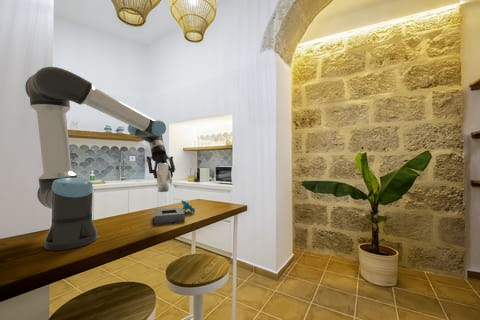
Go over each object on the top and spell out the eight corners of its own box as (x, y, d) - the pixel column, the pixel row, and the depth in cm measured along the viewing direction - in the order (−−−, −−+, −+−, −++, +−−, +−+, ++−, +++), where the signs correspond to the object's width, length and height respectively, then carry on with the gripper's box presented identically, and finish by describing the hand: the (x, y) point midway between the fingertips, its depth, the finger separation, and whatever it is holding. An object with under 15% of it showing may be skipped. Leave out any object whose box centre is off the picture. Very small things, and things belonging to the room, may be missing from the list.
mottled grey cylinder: (158, 192, 100) (157, 163, 99) (158, 190, 104) (157, 163, 104) (168, 191, 101) (168, 163, 101) (168, 190, 106) (168, 163, 106)
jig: (154, 224, 97) (154, 216, 98) (154, 217, 110) (154, 209, 110) (184, 221, 103) (184, 213, 103) (181, 214, 116) (181, 207, 116)
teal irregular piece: (198, 210, 120) (186, 199, 116) (191, 218, 117) (179, 207, 114) (191, 209, 129) (179, 199, 125) (185, 217, 126) (173, 207, 123)
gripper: (173, 154, 121) (181, 185, 107) (139, 154, 111) (144, 188, 97) (175, 145, 116) (184, 176, 102) (140, 144, 106) (145, 178, 93)
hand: (165, 182), depth 100 cm, fingers closed on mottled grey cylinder, 5 cm apart
